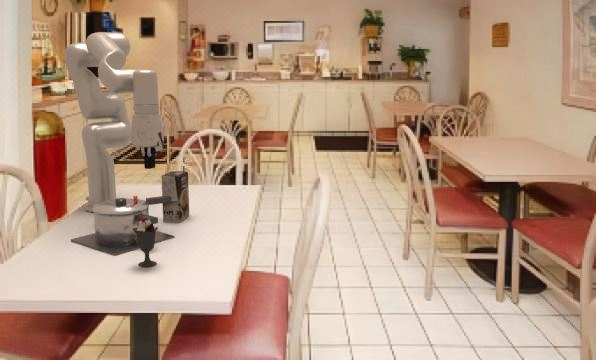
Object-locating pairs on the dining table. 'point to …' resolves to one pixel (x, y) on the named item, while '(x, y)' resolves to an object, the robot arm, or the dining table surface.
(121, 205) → the lid
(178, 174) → the coffee box
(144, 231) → the sundae
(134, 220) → the cooker
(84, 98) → the robot arm
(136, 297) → the dining table surface
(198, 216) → the dining table surface
